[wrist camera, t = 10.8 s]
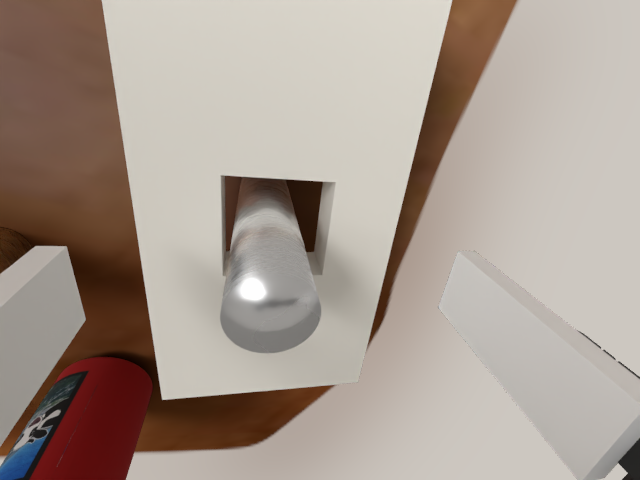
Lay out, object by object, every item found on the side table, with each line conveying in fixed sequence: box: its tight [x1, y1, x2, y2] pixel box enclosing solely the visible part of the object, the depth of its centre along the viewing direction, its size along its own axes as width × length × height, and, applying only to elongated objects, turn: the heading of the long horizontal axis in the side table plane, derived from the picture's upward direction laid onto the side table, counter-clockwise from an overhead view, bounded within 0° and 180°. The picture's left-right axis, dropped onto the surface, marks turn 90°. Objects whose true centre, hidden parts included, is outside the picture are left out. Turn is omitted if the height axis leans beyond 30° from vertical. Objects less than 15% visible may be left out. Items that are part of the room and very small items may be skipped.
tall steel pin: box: [220, 177, 321, 353], centre depth 15 cm, size 3×3×13 cm
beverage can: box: [0, 357, 153, 480], centre depth 20 cm, size 7×7×12 cm
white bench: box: [102, 0, 452, 400], centre depth 18 cm, size 12×22×7 cm, turn 173°
